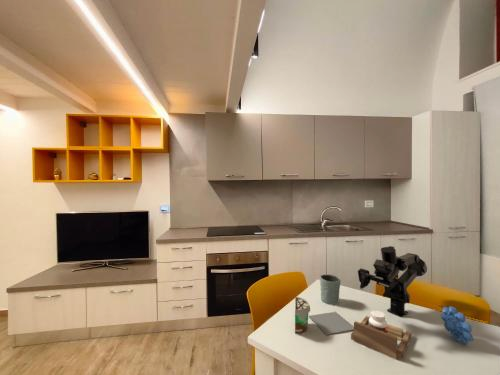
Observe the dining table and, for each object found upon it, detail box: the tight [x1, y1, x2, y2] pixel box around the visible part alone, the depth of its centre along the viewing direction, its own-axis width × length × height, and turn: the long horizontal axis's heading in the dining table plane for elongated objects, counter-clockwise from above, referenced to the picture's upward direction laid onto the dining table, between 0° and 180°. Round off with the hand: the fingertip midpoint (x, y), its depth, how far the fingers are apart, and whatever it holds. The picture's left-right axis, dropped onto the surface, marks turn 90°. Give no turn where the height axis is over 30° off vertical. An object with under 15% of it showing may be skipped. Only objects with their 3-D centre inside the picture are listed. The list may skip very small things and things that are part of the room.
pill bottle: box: [368, 310, 388, 333], centre depth 89 cm, size 6×6×11 cm
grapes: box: [440, 305, 474, 345], centre depth 91 cm, size 12×7×12 cm, turn 9°
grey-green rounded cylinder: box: [319, 273, 342, 306], centre depth 122 cm, size 10×10×12 cm
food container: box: [294, 296, 311, 335], centre depth 99 cm, size 12×6×10 cm, turn 168°
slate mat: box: [308, 311, 354, 336], centre depth 102 cm, size 14×14×1 cm
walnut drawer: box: [350, 315, 412, 361], centre depth 92 cm, size 18×16×7 cm
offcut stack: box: [367, 323, 405, 342], centre depth 96 cm, size 6×12×2 cm, turn 47°
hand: (371, 291), depth 96 cm, fingers open, 9 cm apart
